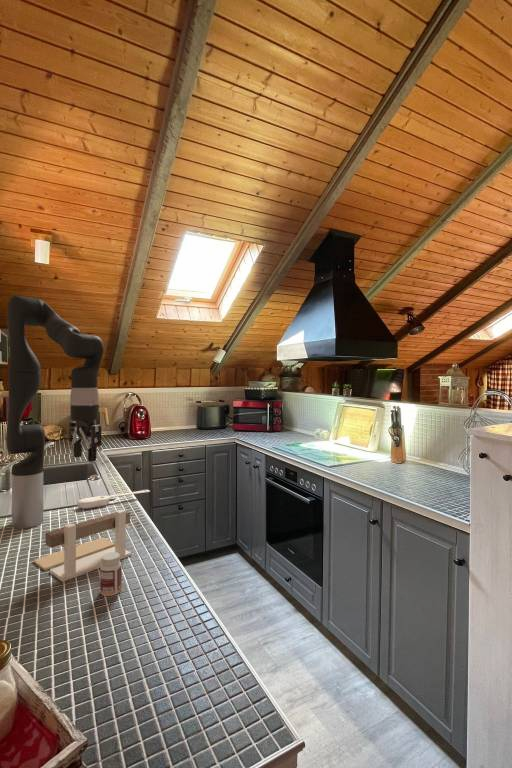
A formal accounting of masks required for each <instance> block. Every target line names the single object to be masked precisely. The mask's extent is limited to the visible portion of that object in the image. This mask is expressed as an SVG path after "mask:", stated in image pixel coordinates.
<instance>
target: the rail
mask: <svg viewBox="0 0 512 768" xmlns="http://www.w3.org/2000/svg"><path fill="white" fill-rule="evenodd" d="M123 510H124V509H123ZM124 511H126V525H129V524H130V523H131V512H130V511H127V510H124ZM73 524H74V523H73ZM74 525H76V541H77V540H80V539H83V538H86V537H89V536H94V535H97V534H99V533H103V532H106V531H110V530H111V529H112V528H115V512H112V513H110V514H107V515H103V516H99V517H95V518H92V519H88V520H85V521H82V522H78V523H75V524H74ZM62 544H64V526H63V527H60V528H57V529H53V530H50V531H47V532H45V545H46V546H47V547H49V548H55V547H57V546H61V545H62Z"/></svg>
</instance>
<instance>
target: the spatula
mask: <svg viewBox="0 0 512 768" xmlns="http://www.w3.org/2000/svg"><path fill="white" fill-rule="evenodd" d="M149 492H151V490H149V489H142V490H138V491H130V492H126V493H125V492H124V493H119V494H118V493H117V494H111V495H99V496H98V495H97V496H92V497H86V498H85V497H84V498H81V499H79V500H77V505H76V506H77V507H78V508H80V509H83V510H84V509H93V508H96V507H97V508H99V507H105V506H107V505H108V506H109V503H110V499H112V498H117V497H123V496H129V495H137V494H143V493H145V494H146V493H149Z"/></svg>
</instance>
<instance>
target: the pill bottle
mask: <svg viewBox="0 0 512 768" xmlns="http://www.w3.org/2000/svg"><path fill="white" fill-rule="evenodd" d="M122 571H123V570H122V562H121V560H120V554H119V553H117V552H110V553H106V554H104V555H103V556H102V564H101V566H100V568H99V576H100V577H99V585H100V586H99V589H100V590H99V592H100V594H101V596H104V597H111V596H116V595H118V594H119V593H120V592H121V591H122V582H123V581H122V580H123V579H122V574H123V573H122Z"/></svg>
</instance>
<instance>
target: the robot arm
mask: <svg viewBox="0 0 512 768" xmlns="http://www.w3.org/2000/svg"><path fill="white" fill-rule="evenodd" d="M6 319H7V332H8V344H9V345H8V347H9V348H8V349H9V350H8V353H9V354H8V380H7V381H8V382H7V383H8V410H7V411H8V412H7V413H8V414H7V426H6V435H5V436H6V437H5V445H6V449H7V452H8V453H9V454H10V455H18V454H19V455H20V454H28V453H30V454H28V456H27V457H25V459H22V460H21V461H19V462H16V463H15V464H13V465H12V467H11V527H13V529H28V528H32V527H36V526H39V525H41V524H42V523H43V522H44V465H45V445H46V436H45V435H46V432H45V428H44V426H43V425H41V424H37V423H36V424H22V425H21V421H22V418H23V415H24V412H25V410H26V409H27V407H28V406H29V404H30V403H31V401H32V400H33V399H34V398H35V396H36V395H37V393H38V392H39V390H40V388H41V379H42V372H41V371H42V368H41V364H40V362H39V360H38V358H37V356H36V355H35V353H34V351H33V350H32V348H31V347H30V345H29V343H28V341H27V338H26V337H27V336H26V331H25V330H26V329H25V326H26V327H42V328H45V333H46V335H47V336H48V338H49V339H50V340H52V341H53V342H54V343H56V344H57V345H59V346H60V348H61V349H62V350H63V352H64V354H65V355H66V356H68V357H69V358H73V359H79V360H81V359H84V360H85V361H84V362H83V365H81V366H78V367H77V366H76V367H74V368H73V369H72V370H71V373H70V377H71V379H70V381H71V386H70V388H71V390H70V396H69V397H70V401H69V402H70V410H69V412H70V415H69V416H70V420H71V421H70V422H69V425H68V426H69V429H68V431H69V432H68V437H69V438H68V441H69V442H71V444H72V445H73V446H72V449H73V455H72V456H73V457H74V458H81V457H82V455H83V451H82V450H83V444H82V443H83V442H85V443H86V445H87V461H88V462H95V461H97V448H99V447H101V446H102V426H101V424H95V421H97V420H98V419H99V415H100V414H99V401H100V399H99V390H98V386H99V385H98V382H99V381H98V379H99V378H98V374H99V370H100V366H101V362H102V359H103V355H104V347H105V346H104V342H103V340H102V339H101V338H100V337H99V336H97V335H94V334H85V333H84V334H83V333H81V330H79V328H77V327H76V326H75V325H73V324H71V323H70V322H69V321H67V320H65V319H63V318H61V316H59V315H58V313H56V312H55V310H53V308H52V307H50V305H49V304H48V303H46V302H45V300H43V299H39V298H35V297H29V296H23V295H22V296H21V295H12V296H11V297H10V298H9V299H8V301H7V306H6Z"/></svg>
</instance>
